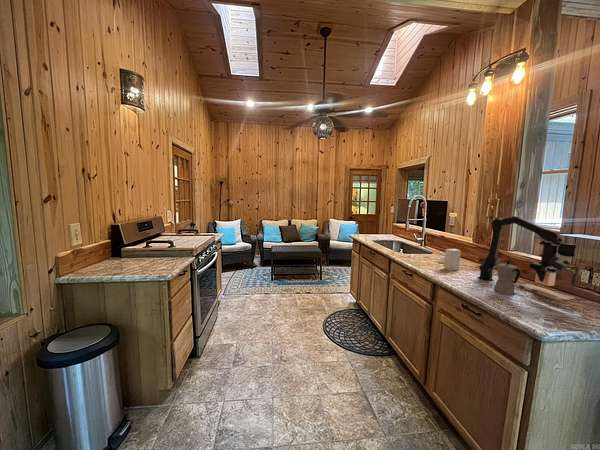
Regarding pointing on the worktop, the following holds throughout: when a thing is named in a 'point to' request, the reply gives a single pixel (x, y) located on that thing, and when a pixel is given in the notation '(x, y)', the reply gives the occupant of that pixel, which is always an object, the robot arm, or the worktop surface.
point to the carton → (547, 279)
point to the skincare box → (452, 259)
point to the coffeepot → (506, 278)
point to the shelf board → (543, 291)
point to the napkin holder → (442, 259)
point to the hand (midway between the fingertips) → (544, 281)
